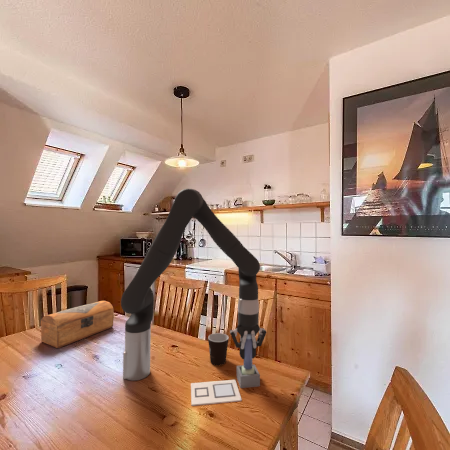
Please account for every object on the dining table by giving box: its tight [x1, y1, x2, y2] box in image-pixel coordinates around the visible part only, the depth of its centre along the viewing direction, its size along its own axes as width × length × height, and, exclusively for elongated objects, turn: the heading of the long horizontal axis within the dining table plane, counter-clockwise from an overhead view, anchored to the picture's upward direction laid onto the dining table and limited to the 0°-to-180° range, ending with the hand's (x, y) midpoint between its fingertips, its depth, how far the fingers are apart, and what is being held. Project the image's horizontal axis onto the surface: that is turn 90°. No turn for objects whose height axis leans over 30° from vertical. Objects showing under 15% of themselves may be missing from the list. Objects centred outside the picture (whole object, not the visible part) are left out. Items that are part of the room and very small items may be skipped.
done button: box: [242, 364, 254, 375], centre depth 92 cm, size 5×5×4 cm
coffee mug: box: [207, 332, 229, 367], centre depth 107 cm, size 12×9×10 cm
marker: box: [243, 334, 253, 369], centre depth 92 cm, size 3×3×12 cm
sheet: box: [190, 379, 242, 407], centre depth 86 cm, size 16×11×1 cm
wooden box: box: [40, 300, 115, 349], centre depth 132 cm, size 30×16×14 cm, turn 150°
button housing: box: [236, 364, 261, 389], centre depth 92 cm, size 7×7×4 cm
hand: (247, 357), depth 92 cm, fingers closed on marker, 3 cm apart
